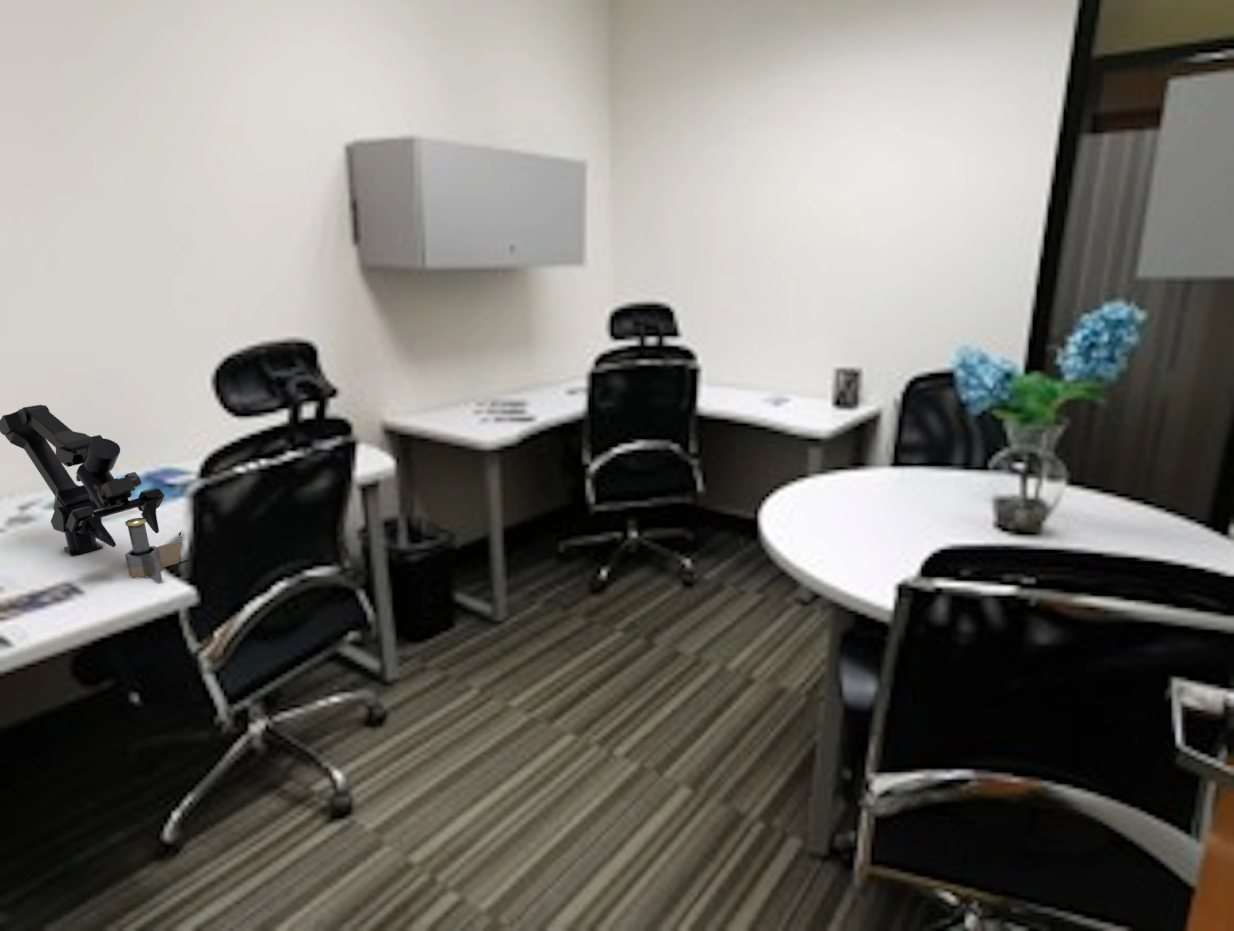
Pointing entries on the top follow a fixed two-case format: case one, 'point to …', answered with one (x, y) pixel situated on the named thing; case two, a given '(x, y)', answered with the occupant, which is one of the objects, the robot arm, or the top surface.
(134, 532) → the hinge pin
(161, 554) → the bronze hinge
